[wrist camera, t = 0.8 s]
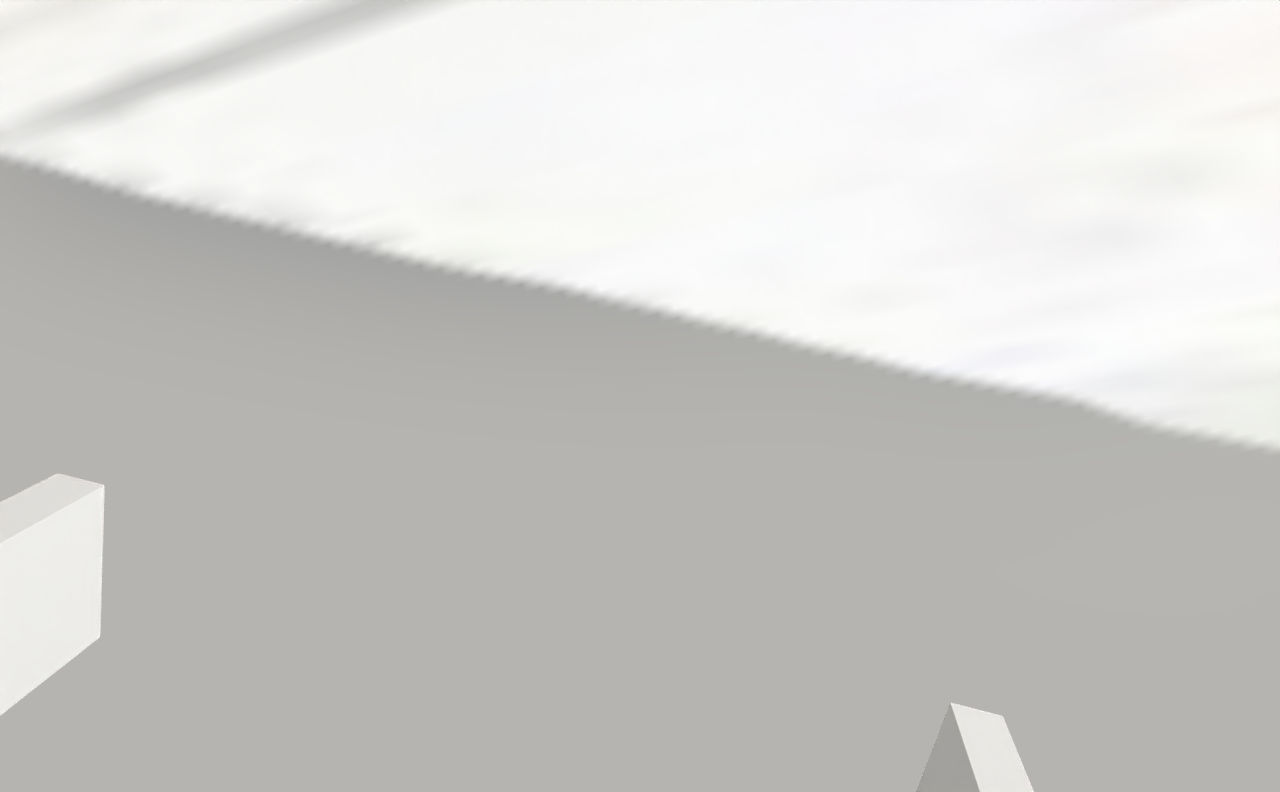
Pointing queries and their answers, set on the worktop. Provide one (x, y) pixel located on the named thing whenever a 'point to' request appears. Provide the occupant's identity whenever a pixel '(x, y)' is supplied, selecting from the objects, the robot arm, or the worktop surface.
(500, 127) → the worktop surface
